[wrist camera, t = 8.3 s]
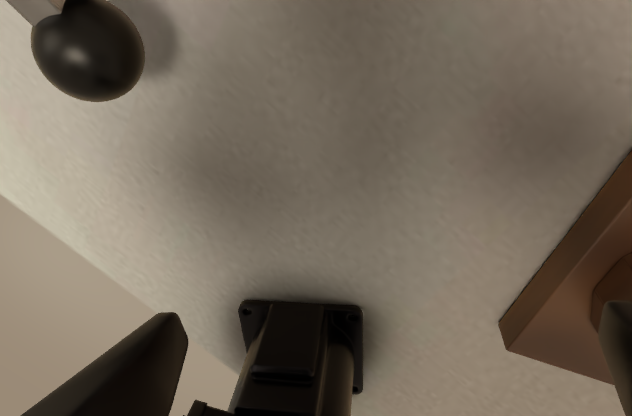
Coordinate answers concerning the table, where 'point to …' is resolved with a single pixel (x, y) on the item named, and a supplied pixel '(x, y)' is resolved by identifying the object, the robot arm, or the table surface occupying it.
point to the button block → (578, 286)
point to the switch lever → (84, 46)
